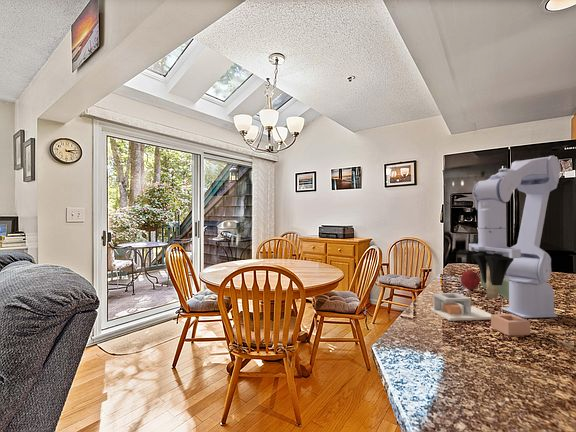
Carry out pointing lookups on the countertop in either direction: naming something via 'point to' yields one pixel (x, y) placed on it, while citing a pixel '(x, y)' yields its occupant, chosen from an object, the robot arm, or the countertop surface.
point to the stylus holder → (510, 324)
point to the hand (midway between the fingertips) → (492, 283)
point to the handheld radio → (499, 287)
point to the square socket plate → (465, 307)
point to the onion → (470, 279)
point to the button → (452, 308)
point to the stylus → (490, 285)
